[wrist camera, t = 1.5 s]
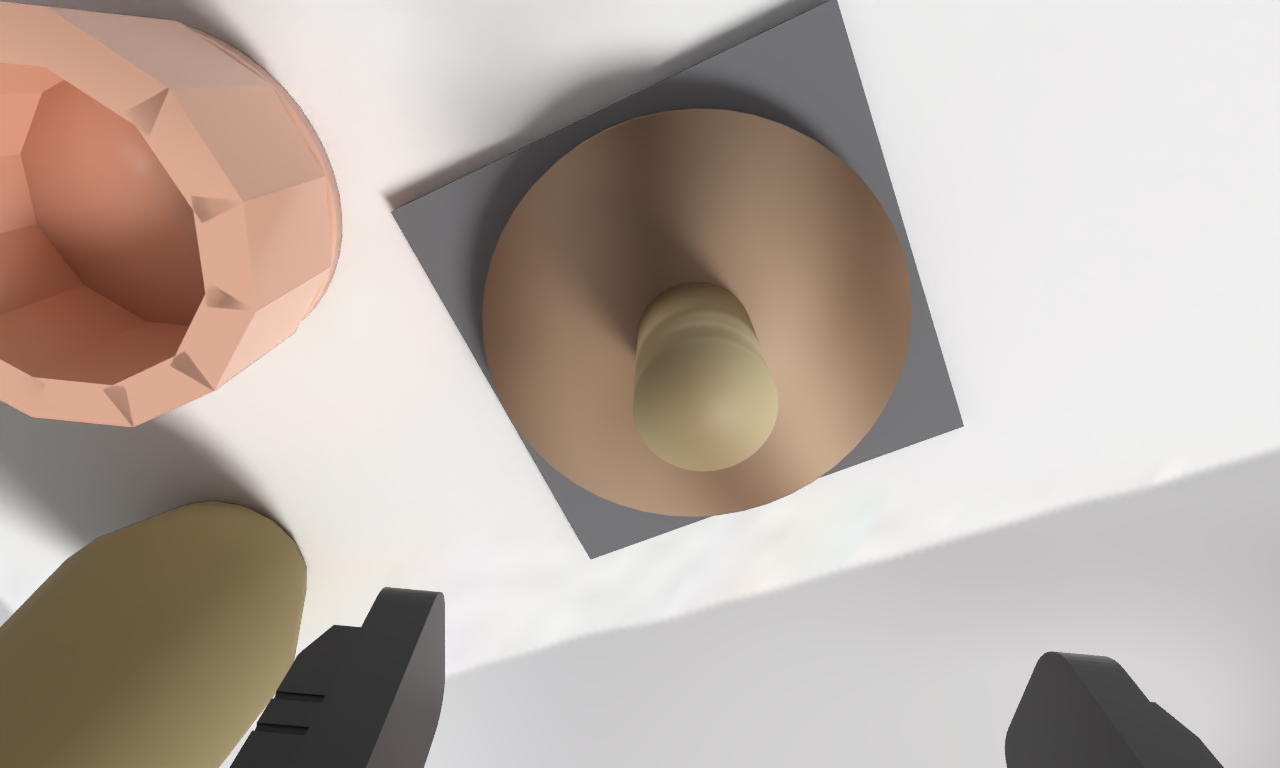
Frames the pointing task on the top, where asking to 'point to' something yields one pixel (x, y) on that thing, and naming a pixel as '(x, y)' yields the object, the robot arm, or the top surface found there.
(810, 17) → the mat
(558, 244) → the lid
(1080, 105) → the top surface
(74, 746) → the squeeze bottle
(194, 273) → the bowl
